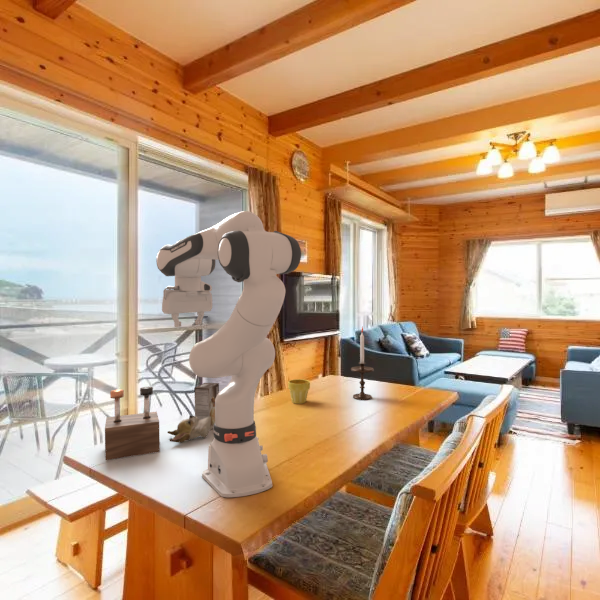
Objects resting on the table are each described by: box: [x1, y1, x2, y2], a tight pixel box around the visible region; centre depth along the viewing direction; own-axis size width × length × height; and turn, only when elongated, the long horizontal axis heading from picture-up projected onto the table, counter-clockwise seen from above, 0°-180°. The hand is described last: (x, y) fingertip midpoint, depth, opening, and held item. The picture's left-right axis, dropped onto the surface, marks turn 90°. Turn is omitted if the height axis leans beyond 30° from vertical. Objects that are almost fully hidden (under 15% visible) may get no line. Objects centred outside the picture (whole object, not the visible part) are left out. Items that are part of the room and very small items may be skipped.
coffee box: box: [194, 382, 220, 431], centre depth 157 cm, size 9×6×16 cm
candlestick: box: [350, 326, 375, 401], centre depth 197 cm, size 11×11×35 cm
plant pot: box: [287, 378, 311, 405], centre depth 191 cm, size 10×10×10 cm
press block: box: [104, 411, 161, 461], centre depth 134 cm, size 12×16×10 cm
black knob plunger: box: [139, 386, 154, 419], centre depth 136 cm, size 4×4×13 cm
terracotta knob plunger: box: [109, 388, 125, 423], centre depth 132 cm, size 4×4×13 cm
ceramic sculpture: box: [167, 415, 211, 444], centre depth 143 cm, size 11×9×15 cm
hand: (188, 325), depth 141 cm, fingers open, 8 cm apart
